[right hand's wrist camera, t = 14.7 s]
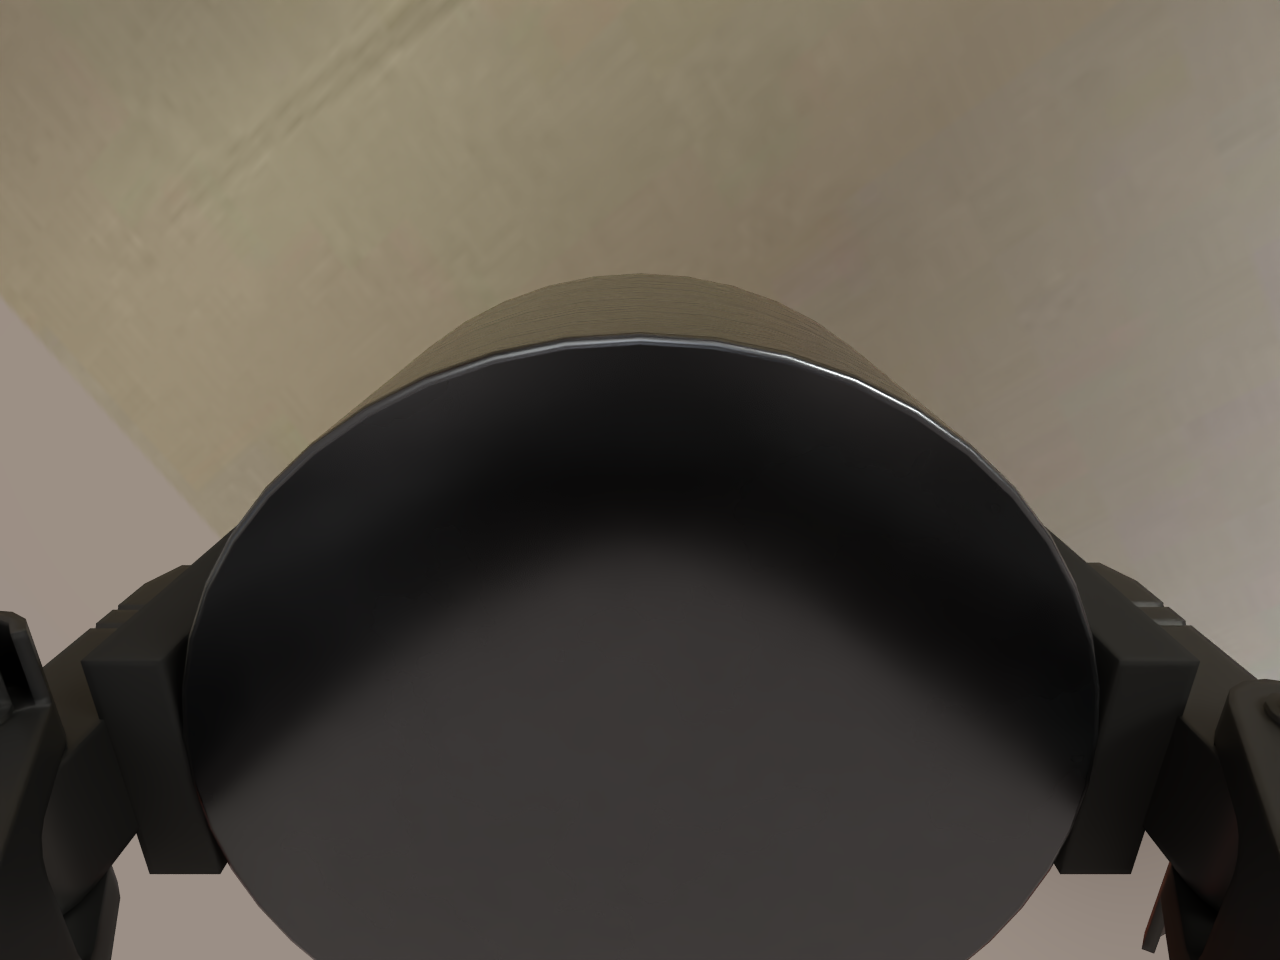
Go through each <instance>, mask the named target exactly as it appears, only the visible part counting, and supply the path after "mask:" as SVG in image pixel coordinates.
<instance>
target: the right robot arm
mask: <svg viewBox="0 0 1280 960" xmlns="http://www.w3.org/2000/svg"><path fill="white" fill-rule="evenodd" d="M236 527H237V526H236ZM236 527H235V528H236ZM1044 527H1045V526H1044ZM235 528H234V529H235ZM1045 528H1046V527H1045ZM234 529H232V530H231V531H230V532H229V533H228V534H227V535H225V536H224V537H223V538H222V539H221V540H220V541H219V542H217V543H216V544H215V545H214V546H213V547H212V548H210V549H209V550H208V551H207V552H206V553H205V554H204V555H202V556H201V557H200V558H199V559H198V560H197V561H195V562H194V563H193V564H192V565H182V566H180V567H178V568H176V569H174V570H172V571H169V572H168V573H165V574H163V575H161V576H159V577H157V578H155V579H153V580H151V581H149V582H147V583H145V584H144V585H143V586H141V587H140V588H139V589H138V590H136V591H135V592H134V593H133V594H132V595H130V596H129V597H128V598H127V599H125V600H124V601H123V602H122V603H121V604H119V605H118V610H112V611H111V612H110V613H108V614H107V615H106V616H105V617H104V618H102V619H101V620H100V621H99V622H97V623H96V628H90V629H89V630H88V631H86V632H85V633H84V634H83V635H82V636H80V637H79V638H78V639H77V640H76V641H74V642H73V643H72V644H71V645H69V646H68V647H67V648H66V649H65V650H63V651H62V652H61V653H60V654H58V655H57V656H56V657H55V658H54V659H52V660H51V661H50V662H49V663H47V664H46V665H45V666H44V667H42V664H41V662H40V659H39V656H38V653H37V650H36V647H35V645H34V642H33V639H32V636H31V633H30V630H29V627H28V624H27V622H26V619H25V618H23V617H21V616H19V615H17V614H15V613H13V612H7V611H0V960H111V955H112V949H113V942H114V935H115V929H116V922H117V915H118V909H119V902H120V894H119V887H118V882H117V879H116V876H115V873H114V870H113V867H112V864H113V863H114V862H115V860H116V859H117V858H118V856H119V855H120V854H121V852H122V851H123V850H124V848H125V847H126V846H127V845H128V843H129V842H130V841H131V839H132V838H133V837H134V836H135V834H136V833H137V836H138V839H139V842H140V845H141V849H142V852H143V855H144V858H145V861H146V864H147V867H148V870H149V873H150V874H221V872H222V870H223V868H224V867H225V865H226V864H227V860H226V859H225V857H224V855H223V853H222V851H221V849H220V847H219V846H218V844H217V842H216V840H215V838H214V836H213V835H212V833H211V831H210V829H209V827H208V824H207V821H206V819H205V816H204V813H203V811H202V808H201V805H200V802H199V800H198V797H197V794H196V792H195V789H194V786H193V783H192V778H191V773H190V768H189V763H188V758H187V753H186V748H185V743H184V738H183V712H182V683H183V675H184V668H185V661H186V653H187V646H188V639H189V633H190V630H191V627H192V624H193V621H194V618H195V615H196V611H197V608H198V605H199V602H200V599H201V596H202V593H203V589H204V586H205V583H206V581H207V579H208V577H209V575H210V574H211V572H212V570H213V568H214V566H215V564H216V562H217V560H218V558H219V556H220V554H221V552H222V550H223V548H224V546H225V545H226V543H227V541H228V539H229V537H230V535H231V533H232V532H233V531H234ZM1046 529H1047V528H1046ZM1047 531H1048V532H1049V533H1050V535H1051V537H1052V538H1053V540H1054V542H1055V544H1056V546H1057V548H1058V550H1059V552H1060V554H1061V556H1062V558H1063V560H1064V562H1065V564H1066V565H1067V567H1068V569H1069V571H1070V573H1071V575H1072V577H1073V579H1074V581H1075V583H1076V585H1077V589H1078V592H1079V595H1080V598H1081V601H1082V604H1083V607H1084V611H1085V614H1086V617H1087V620H1088V623H1089V626H1090V629H1091V633H1092V637H1093V643H1094V651H1095V658H1096V665H1097V673H1098V680H1099V687H1100V696H1099V727H1098V741H1097V746H1096V751H1095V756H1094V761H1093V766H1092V771H1091V776H1090V781H1089V785H1088V788H1087V791H1086V794H1085V796H1084V799H1083V802H1082V804H1081V807H1080V810H1079V813H1078V815H1077V818H1076V821H1075V823H1074V826H1073V829H1072V831H1071V833H1070V834H1069V836H1068V838H1067V840H1066V842H1065V844H1064V845H1063V847H1062V849H1061V851H1060V853H1059V855H1058V856H1057V858H1056V860H1055V862H1054V864H1055V866H1056V868H1057V869H1058V871H1059V873H1060V874H1131V872H1132V869H1133V866H1134V863H1135V860H1136V856H1137V854H1138V850H1139V847H1140V844H1141V841H1142V838H1143V835H1144V832H1145V831H1146V832H1147V833H1148V834H1149V836H1150V837H1151V838H1152V840H1153V841H1154V842H1155V844H1156V845H1157V846H1158V847H1159V849H1160V850H1161V851H1162V853H1163V854H1164V855H1165V856H1166V858H1167V859H1168V860H1169V865H1168V867H1167V870H1166V873H1165V876H1164V879H1163V882H1162V885H1161V887H1160V890H1159V893H1158V896H1157V899H1156V902H1155V905H1154V907H1153V910H1152V913H1151V916H1150V919H1149V922H1148V925H1147V928H1146V930H1145V934H1144V939H1143V945H1142V949H1143V950H1146V951H1149V952H1151V953H1154V952H1155V950H1156V947H1157V944H1158V942H1159V939H1160V936H1162V935H1164V934H1166V940H1167V946H1168V953H1169V960H1280V681H1276V680H1269V679H1260V680H1258V679H1256V678H1255V677H1254V676H1253V675H1252V674H1250V673H1249V672H1248V671H1247V670H1245V669H1244V668H1243V667H1242V666H1240V665H1239V664H1238V663H1237V662H1236V661H1234V660H1233V659H1232V658H1231V657H1229V656H1228V655H1227V654H1226V653H1225V652H1223V651H1222V650H1221V649H1220V648H1218V647H1217V646H1216V645H1215V644H1213V643H1212V642H1211V641H1210V640H1209V639H1207V638H1206V637H1205V636H1204V635H1202V634H1201V633H1200V632H1199V631H1197V630H1196V629H1195V628H1194V627H1193V626H1186V623H1185V622H1186V621H1185V620H1184V619H1183V618H1182V617H1180V616H1179V615H1178V614H1177V613H1175V612H1174V611H1173V610H1172V609H1170V608H1169V607H1164V606H1163V602H1162V601H1161V600H1159V599H1158V598H1157V597H1156V596H1154V595H1153V594H1152V593H1151V592H1150V591H1148V590H1147V589H1146V588H1145V587H1143V586H1142V585H1141V584H1140V583H1139V582H1137V581H1136V580H1134V579H1131V578H1129V577H1127V576H1125V575H1123V574H1121V573H1119V572H1117V571H1115V570H1113V569H1111V568H1109V567H1107V566H1105V565H1103V564H1101V563H1086V562H1085V561H1084V560H1083V559H1082V558H1081V557H1079V556H1078V555H1077V554H1076V553H1075V552H1074V551H1072V550H1071V549H1070V548H1069V547H1068V546H1067V545H1066V544H1064V543H1063V542H1062V541H1061V540H1060V539H1059V538H1057V537H1056V536H1055V535H1054V534H1053V533H1052V532H1050V531H1049V530H1048V529H1047Z"/></svg>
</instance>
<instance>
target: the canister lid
mask: <svg viewBox="0 0 1280 960" xmlns="http://www.w3.org/2000/svg"><path fill="white" fill-rule="evenodd" d="M1099 696H1100V687H1099V680H1098V673H1097V665H1096V658H1095V651H1094V643H1093V637H1092V633H1091V629H1090V626H1089V623H1088V620H1087V617H1086V614H1085V611H1084V607H1083V604H1082V601H1081V598H1080V595H1079V592H1078V589H1077V585H1076V583H1075V581H1074V579H1073V577H1072V575H1071V573H1070V571H1069V569H1068V567H1067V565H1066V564H1065V562H1064V560H1063V558H1062V556H1061V554H1060V552H1059V550H1058V548H1057V546H1056V544H1055V542H1054V540H1053V538H1052V537H1051V535H1050V533H1049V532H1048V531H1047V529H1046V528H1045V527H1044V525H1043V524H1042V523H1041V521H1040V520H1039V519H1038V517H1037V516H1036V515H1035V513H1034V512H1033V511H1032V509H1031V508H1030V507H1029V505H1028V504H1027V503H1026V501H1025V500H1024V499H1023V497H1022V496H1021V495H1020V493H1019V492H1018V491H1017V489H1016V488H1015V487H1014V486H1013V485H1012V484H1011V483H1010V482H1009V481H1008V480H1007V479H1006V478H1005V477H1004V476H1003V475H1002V474H1001V473H1000V472H999V471H998V470H997V469H996V468H995V467H994V466H992V465H991V464H990V463H989V462H988V461H987V460H986V459H985V458H984V457H983V456H982V455H981V454H980V453H979V452H978V451H977V450H976V449H975V448H974V447H973V446H972V445H971V444H970V443H968V442H967V441H966V440H965V439H963V438H962V437H961V436H960V435H959V434H957V433H956V432H955V431H954V430H952V429H951V428H950V427H949V426H948V425H946V424H945V423H944V422H943V421H941V420H940V419H939V418H938V417H937V416H935V415H934V414H933V413H932V412H930V411H929V410H928V409H927V408H925V407H924V406H923V405H922V404H921V403H919V402H918V401H917V400H916V399H914V398H913V397H912V396H911V395H910V394H908V393H907V392H906V391H905V390H903V389H902V388H901V387H900V386H899V385H897V384H896V383H895V382H894V381H892V380H891V379H890V378H889V377H888V376H886V375H885V374H884V373H883V372H881V371H880V370H879V369H878V368H876V367H875V366H874V365H873V364H872V363H870V362H869V361H868V360H867V359H865V358H864V357H863V356H862V355H861V354H859V353H858V352H857V351H856V350H854V349H853V348H852V347H851V346H849V345H848V344H846V343H845V342H844V341H842V340H841V339H839V338H838V337H837V336H835V335H834V334H832V333H831V332H830V331H828V330H827V329H825V328H824V327H823V326H821V325H820V324H818V323H817V322H815V321H813V320H811V319H810V318H808V317H806V316H804V315H802V314H800V313H798V312H796V311H794V310H792V309H790V308H788V307H786V306H784V305H783V304H781V303H779V302H777V301H774V300H771V299H768V298H766V297H763V296H760V295H757V294H754V293H751V292H749V291H746V290H743V289H740V288H737V287H734V286H731V285H726V284H721V283H716V282H711V281H706V280H701V279H696V278H692V277H685V276H670V275H656V274H626V275H611V276H596V277H590V278H585V279H580V280H575V281H570V282H565V283H561V284H556V285H551V286H547V287H544V288H541V289H538V290H536V291H533V292H530V293H527V294H524V295H521V296H519V297H516V298H513V299H510V300H507V301H505V302H503V303H501V304H499V305H497V306H495V307H493V308H491V309H489V310H487V311H485V312H483V313H481V314H480V315H478V316H476V317H474V318H472V319H470V320H468V321H466V322H464V323H463V324H462V325H460V326H459V327H457V328H456V329H455V330H453V331H452V332H450V333H449V334H448V335H446V336H445V337H443V338H442V339H441V340H439V341H438V342H436V343H435V344H434V345H432V346H431V347H429V348H428V349H427V350H426V351H425V352H423V353H422V354H421V355H420V356H418V357H417V358H416V359H415V360H413V361H412V362H411V363H410V364H409V365H407V366H406V367H405V368H404V369H402V370H401V371H400V372H399V373H397V374H396V375H395V376H394V377H393V378H391V379H390V380H389V381H388V382H386V383H385V384H384V385H383V386H381V387H380V388H379V389H378V390H377V391H375V392H374V393H373V394H372V395H370V396H369V397H368V398H367V399H365V400H364V401H363V402H362V403H361V404H359V405H358V406H357V407H356V408H354V409H353V410H352V411H351V412H349V413H348V414H347V415H346V416H345V417H343V418H342V419H341V420H340V421H338V422H337V423H336V424H335V425H333V426H332V427H331V428H330V429H329V430H327V431H326V432H325V433H324V434H322V435H321V436H320V437H319V438H317V439H316V440H315V441H314V442H313V443H311V444H310V445H309V446H308V447H307V448H306V449H305V450H304V451H303V452H302V453H301V454H300V455H299V456H298V457H297V458H296V459H295V460H294V461H293V462H292V463H291V464H289V465H288V466H287V467H286V468H285V469H284V470H283V471H282V472H281V473H280V474H279V475H278V476H277V477H276V478H275V479H274V480H273V481H272V482H271V483H270V484H269V485H268V486H267V487H266V488H265V489H264V491H263V492H262V493H261V495H260V496H259V497H258V499H257V500H256V501H255V503H254V504H253V505H252V507H251V508H250V509H249V511H248V512H247V513H246V515H245V516H244V517H243V519H242V520H241V521H240V523H239V524H238V525H237V527H236V528H235V529H234V531H233V532H232V533H231V535H230V537H229V539H228V541H227V543H226V545H225V546H224V548H223V550H222V552H221V554H220V556H219V558H218V560H217V562H216V564H215V566H214V568H213V570H212V572H211V574H210V575H209V577H208V579H207V581H206V583H205V586H204V589H203V593H202V596H201V599H200V602H199V605H198V608H197V611H196V615H195V618H194V621H193V624H192V627H191V630H190V633H189V639H188V646H187V653H186V661H185V668H184V675H183V683H182V712H183V738H184V743H185V748H186V753H187V758H188V763H189V768H190V773H191V778H192V783H193V786H194V789H195V792H196V794H197V797H198V800H199V802H200V805H201V808H202V811H203V813H204V816H205V819H206V821H207V824H208V827H209V829H210V831H211V833H212V835H213V836H214V838H215V840H216V842H217V844H218V846H219V847H220V849H221V851H222V853H223V855H224V857H225V859H226V860H227V862H228V864H229V866H230V868H231V869H232V871H233V872H234V874H235V875H236V876H237V878H238V879H239V880H240V882H241V883H242V884H243V886H244V887H245V888H246V890H247V891H248V893H249V894H250V895H251V897H252V898H253V899H254V901H255V902H256V904H257V905H258V906H259V907H260V908H261V909H262V911H263V912H264V913H265V914H266V915H267V916H268V917H269V918H270V919H271V920H272V921H273V922H274V923H275V924H276V925H277V926H278V927H279V929H280V930H281V931H282V932H283V933H284V934H285V935H286V936H287V937H288V938H289V939H290V940H291V941H292V942H293V943H294V944H296V945H297V946H298V947H299V948H300V949H302V950H303V951H304V952H305V953H306V954H308V955H309V956H310V957H311V958H312V959H314V960H969V959H970V958H971V957H972V956H973V955H975V954H976V953H977V952H978V951H979V950H981V949H982V948H983V947H984V946H985V945H987V944H988V943H989V942H990V941H991V940H992V939H993V938H994V937H995V936H996V935H997V934H998V933H999V932H1000V931H1001V930H1002V928H1003V927H1004V926H1005V925H1006V924H1007V923H1008V922H1009V921H1010V920H1011V919H1012V918H1013V917H1014V916H1015V915H1016V914H1017V913H1018V912H1019V911H1020V910H1021V909H1022V907H1023V906H1024V905H1025V903H1026V902H1027V901H1028V899H1029V898H1030V896H1031V895H1032V894H1033V893H1034V891H1035V890H1036V888H1037V887H1038V886H1039V884H1040V883H1041V882H1042V880H1043V879H1044V878H1045V876H1046V875H1047V873H1048V872H1049V871H1050V869H1051V867H1052V866H1053V864H1054V862H1055V860H1056V858H1057V856H1058V855H1059V853H1060V851H1061V849H1062V847H1063V845H1064V844H1065V842H1066V840H1067V838H1068V836H1069V834H1070V833H1071V831H1072V829H1073V826H1074V823H1075V821H1076V818H1077V815H1078V813H1079V810H1080V807H1081V804H1082V802H1083V799H1084V796H1085V794H1086V791H1087V788H1088V785H1089V781H1090V776H1091V771H1092V766H1093V761H1094V756H1095V751H1096V746H1097V741H1098V727H1099Z"/></svg>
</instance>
